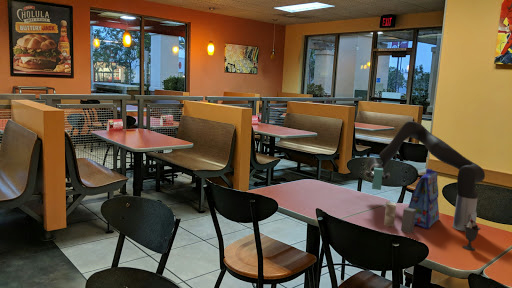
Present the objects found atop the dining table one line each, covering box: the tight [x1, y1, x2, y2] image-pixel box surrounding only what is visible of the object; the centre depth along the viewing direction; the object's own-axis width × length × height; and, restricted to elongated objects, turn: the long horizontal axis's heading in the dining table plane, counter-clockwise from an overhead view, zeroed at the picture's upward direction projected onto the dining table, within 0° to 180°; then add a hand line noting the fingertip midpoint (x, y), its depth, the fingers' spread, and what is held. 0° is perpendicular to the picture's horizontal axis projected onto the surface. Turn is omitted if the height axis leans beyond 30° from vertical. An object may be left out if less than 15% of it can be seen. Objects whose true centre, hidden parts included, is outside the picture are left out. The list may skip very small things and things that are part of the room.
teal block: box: [371, 167, 383, 191], centre depth 221 cm, size 4×4×11 cm
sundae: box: [462, 215, 481, 251], centre depth 183 cm, size 7×7×15 cm
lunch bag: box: [408, 168, 440, 230], centre depth 215 cm, size 22×14×29 cm, turn 143°
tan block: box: [383, 201, 397, 227], centre depth 208 cm, size 4×4×11 cm
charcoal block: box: [400, 207, 416, 234], centre depth 201 cm, size 4×4×11 cm
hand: (377, 177), depth 219 cm, fingers closed on teal block, 4 cm apart
